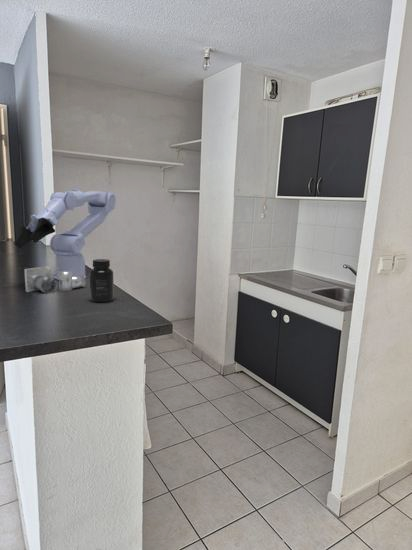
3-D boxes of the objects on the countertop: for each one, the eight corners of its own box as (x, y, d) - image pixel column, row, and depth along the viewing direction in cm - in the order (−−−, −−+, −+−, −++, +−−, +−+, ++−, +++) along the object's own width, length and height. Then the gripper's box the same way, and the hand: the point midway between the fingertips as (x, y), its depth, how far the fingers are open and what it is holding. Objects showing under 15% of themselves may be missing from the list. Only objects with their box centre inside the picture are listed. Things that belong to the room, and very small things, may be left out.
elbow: (63, 291, 118) (63, 273, 117) (56, 289, 120) (56, 271, 119) (85, 287, 124) (85, 269, 123) (78, 285, 127) (78, 268, 126)
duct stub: (25, 291, 117) (24, 269, 115) (49, 287, 123) (48, 266, 121) (36, 295, 113) (35, 272, 112) (60, 290, 119) (59, 269, 118)
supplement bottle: (118, 298, 114) (118, 259, 111) (105, 304, 108) (104, 263, 105) (98, 295, 116) (98, 257, 113) (85, 301, 110) (84, 260, 107)
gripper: (26, 212, 124) (1, 238, 115) (55, 200, 117) (30, 226, 108) (41, 229, 128) (18, 255, 119) (70, 218, 121) (47, 245, 111)
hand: (25, 243), depth 113 cm, fingers open, 7 cm apart
